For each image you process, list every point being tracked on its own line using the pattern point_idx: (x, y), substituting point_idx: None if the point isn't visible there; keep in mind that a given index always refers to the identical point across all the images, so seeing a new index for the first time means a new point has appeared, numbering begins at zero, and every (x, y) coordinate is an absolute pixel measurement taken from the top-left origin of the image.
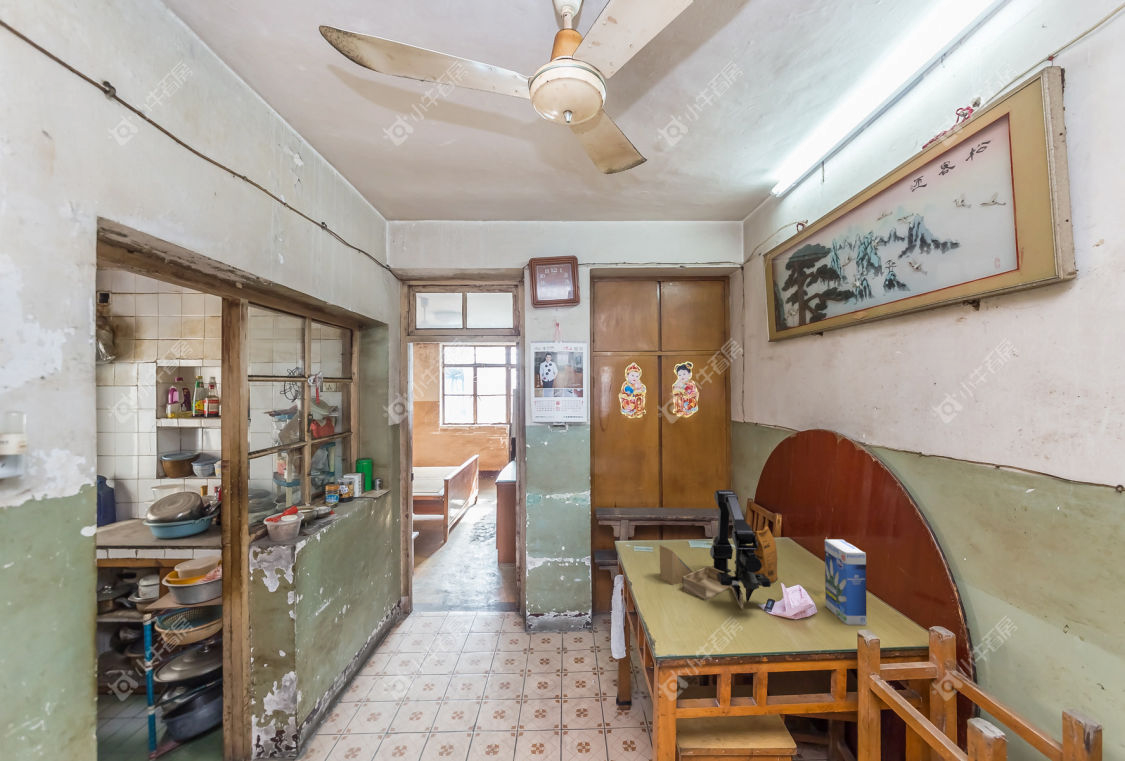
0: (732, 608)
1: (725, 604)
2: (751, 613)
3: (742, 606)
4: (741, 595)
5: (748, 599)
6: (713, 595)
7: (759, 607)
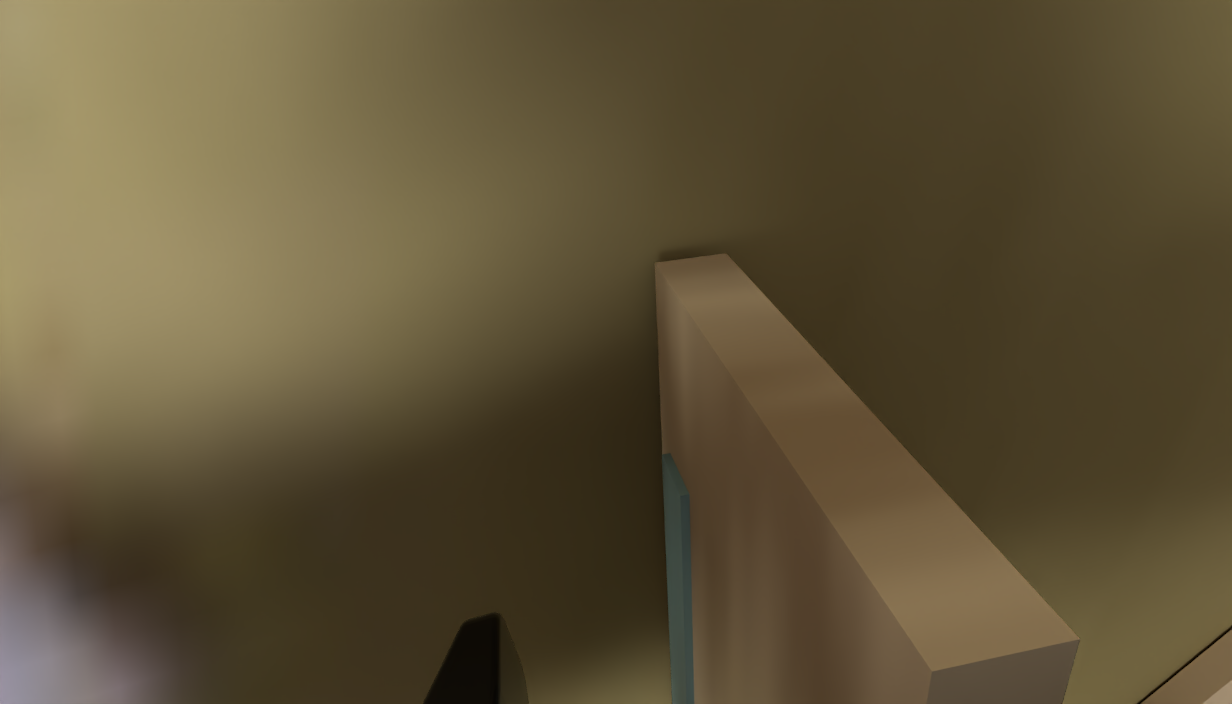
0: (959, 258)
1: (1068, 422)
2: (388, 81)
3: (707, 301)
4: (990, 597)
5: (458, 689)
6: (1208, 683)
7: (103, 571)
